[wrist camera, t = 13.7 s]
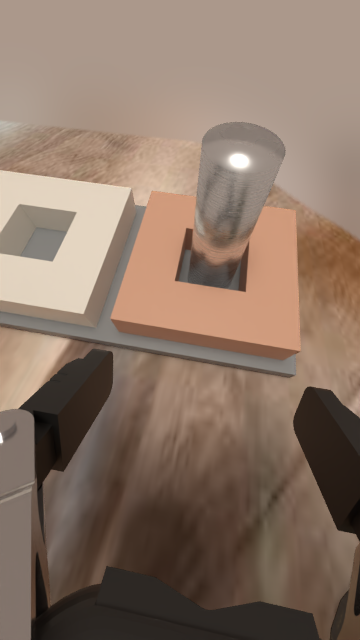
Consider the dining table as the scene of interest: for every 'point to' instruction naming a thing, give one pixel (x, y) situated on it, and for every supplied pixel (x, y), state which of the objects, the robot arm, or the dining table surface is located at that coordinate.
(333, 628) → the thermos
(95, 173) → the dining table surface
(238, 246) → the steel pin
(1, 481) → the robot arm
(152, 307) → the dock board
